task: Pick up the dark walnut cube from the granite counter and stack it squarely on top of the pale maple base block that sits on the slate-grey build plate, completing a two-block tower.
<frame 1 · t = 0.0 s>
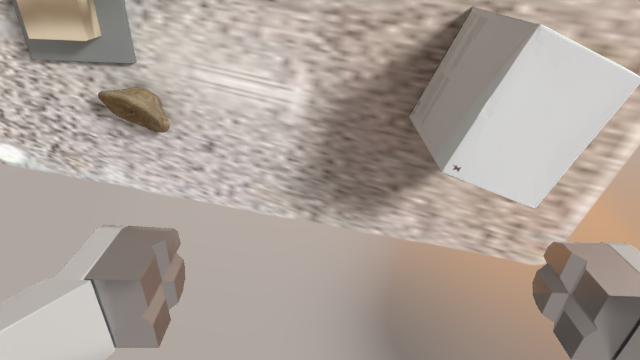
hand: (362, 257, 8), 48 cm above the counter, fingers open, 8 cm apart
build plate: (72, 5, 49), on the counter
maple base: (67, 6, 49), point 1 cm above the counter, touching build plate
supplement box: (474, 82, 55), on the counter
fossil: (145, 104, 57), on the counter
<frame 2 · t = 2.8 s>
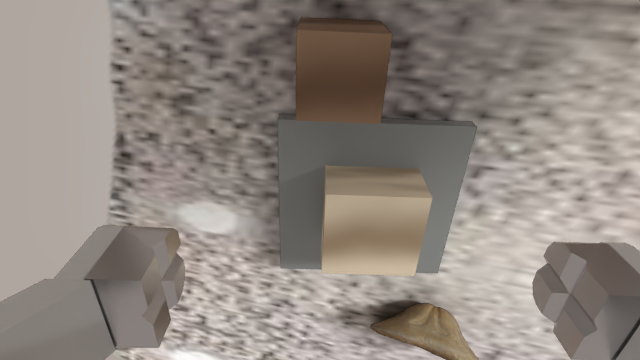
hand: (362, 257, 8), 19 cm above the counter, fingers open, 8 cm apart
build plate: (366, 198, 30), on the counter
maple base: (367, 205, 30), point 1 cm above the counter, touching build plate
walnut cube: (337, 59, 25), on the counter
fossil: (415, 312, 38), on the counter
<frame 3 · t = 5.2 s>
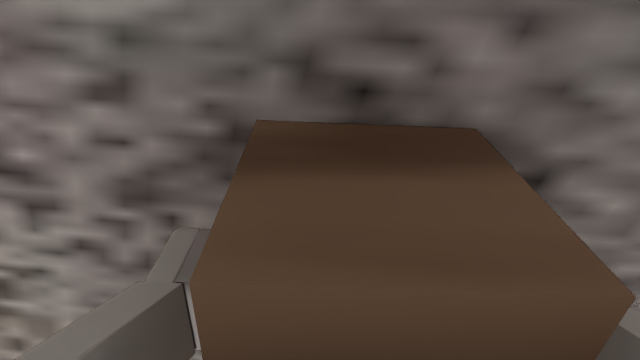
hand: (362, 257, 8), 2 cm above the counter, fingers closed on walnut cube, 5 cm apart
walnut cube: (356, 214, 10), on the counter, touching gripper
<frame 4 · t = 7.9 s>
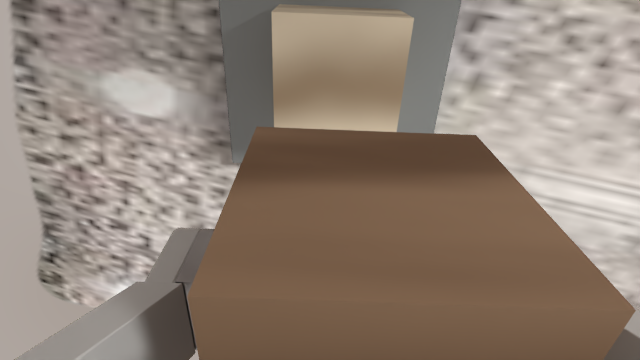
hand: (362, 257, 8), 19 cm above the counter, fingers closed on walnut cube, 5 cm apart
build plate: (335, 64, 24), on the counter
maple base: (335, 67, 23), point 1 cm above the counter, touching build plate
walnut cube: (356, 220, 10), point 17 cm above the counter, touching gripper
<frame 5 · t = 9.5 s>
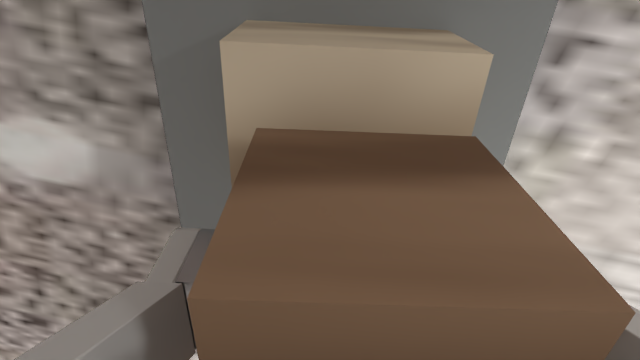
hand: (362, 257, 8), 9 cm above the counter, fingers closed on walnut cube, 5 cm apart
build plate: (339, 111, 16), on the counter
maple base: (340, 120, 15), point 1 cm above the counter, touching build plate
walnut cube: (356, 221, 10), point 7 cm above the counter, touching gripper
when the fingers open (8 cm above the counter, at t = 10.6 s): walnut cube drops 1 cm, resting on maple base.
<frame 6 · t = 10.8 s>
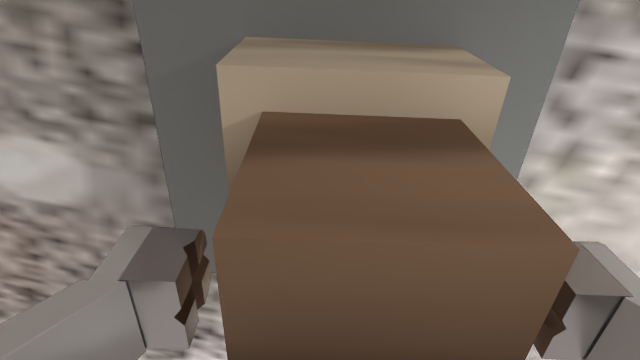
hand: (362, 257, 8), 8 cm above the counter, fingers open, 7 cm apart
build plate: (343, 129, 15), on the counter
maple base: (344, 139, 14), point 1 cm above the counter, touching build plate, walnut cube
walnut cube: (353, 199, 11), point 5 cm above the counter, touching maple base
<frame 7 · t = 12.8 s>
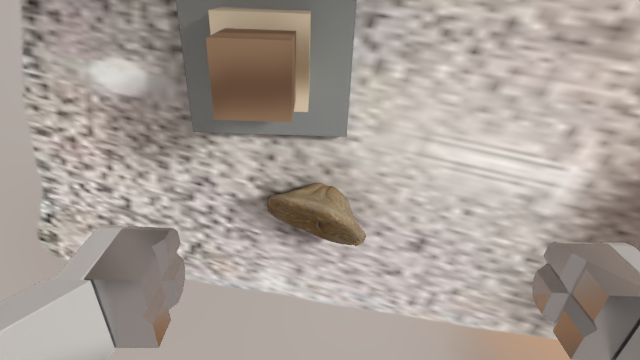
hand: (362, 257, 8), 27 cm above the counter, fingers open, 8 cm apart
build plate: (269, 52, 32), on the counter
maple base: (267, 54, 31), point 1 cm above the counter, touching build plate, walnut cube
walnut cube: (261, 65, 27), point 5 cm above the counter, touching maple base
fossil: (315, 201, 39), on the counter
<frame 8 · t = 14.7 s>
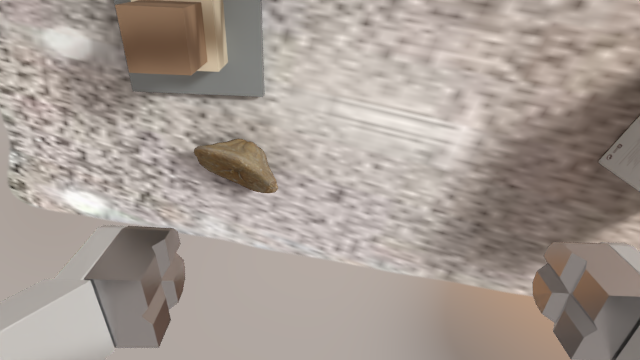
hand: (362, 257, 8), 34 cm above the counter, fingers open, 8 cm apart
build plate: (192, 23, 38), on the counter
maple base: (189, 24, 37), point 1 cm above the counter, touching build plate, walnut cube
walnut cube: (176, 31, 33), point 5 cm above the counter, touching maple base
fossil: (242, 156, 45), on the counter
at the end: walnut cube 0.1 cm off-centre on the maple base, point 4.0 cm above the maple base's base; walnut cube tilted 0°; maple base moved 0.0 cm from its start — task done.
